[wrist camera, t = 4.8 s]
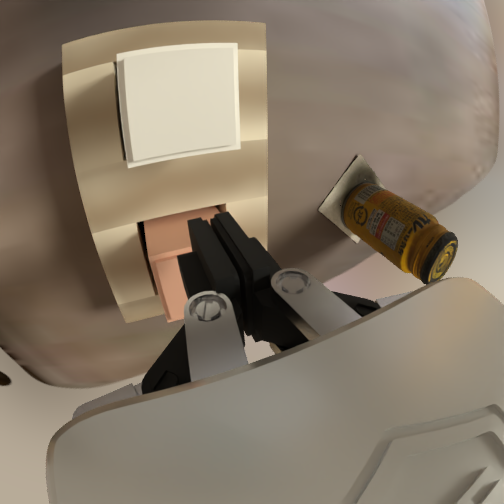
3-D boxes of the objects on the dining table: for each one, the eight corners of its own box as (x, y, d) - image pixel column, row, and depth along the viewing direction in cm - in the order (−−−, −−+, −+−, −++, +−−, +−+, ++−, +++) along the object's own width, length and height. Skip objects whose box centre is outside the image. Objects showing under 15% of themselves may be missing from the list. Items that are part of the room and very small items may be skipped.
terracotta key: (142, 213, 18) (148, 259, 13) (209, 199, 20) (239, 238, 15) (156, 270, 21) (168, 325, 16) (215, 255, 23) (243, 305, 18)
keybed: (75, 55, 12) (62, 44, 8) (242, 34, 15) (265, 23, 12) (124, 292, 22) (126, 323, 19) (248, 260, 26) (266, 285, 23)
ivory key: (123, 70, 12) (116, 52, 7) (204, 60, 14) (240, 41, 9) (130, 146, 15) (127, 170, 10) (207, 133, 16) (243, 150, 11)
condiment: (356, 242, 32) (428, 302, 22) (317, 209, 27) (407, 277, 17) (389, 195, 30) (468, 243, 21) (357, 152, 25) (458, 198, 16)
